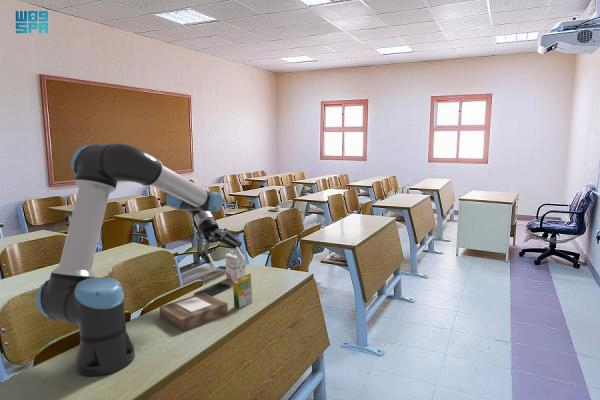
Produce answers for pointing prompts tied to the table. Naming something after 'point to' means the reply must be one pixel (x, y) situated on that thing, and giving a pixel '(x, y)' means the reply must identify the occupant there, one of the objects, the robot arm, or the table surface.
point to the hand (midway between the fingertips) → (229, 265)
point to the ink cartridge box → (234, 266)
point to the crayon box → (242, 291)
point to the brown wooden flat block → (193, 311)
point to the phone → (214, 289)
